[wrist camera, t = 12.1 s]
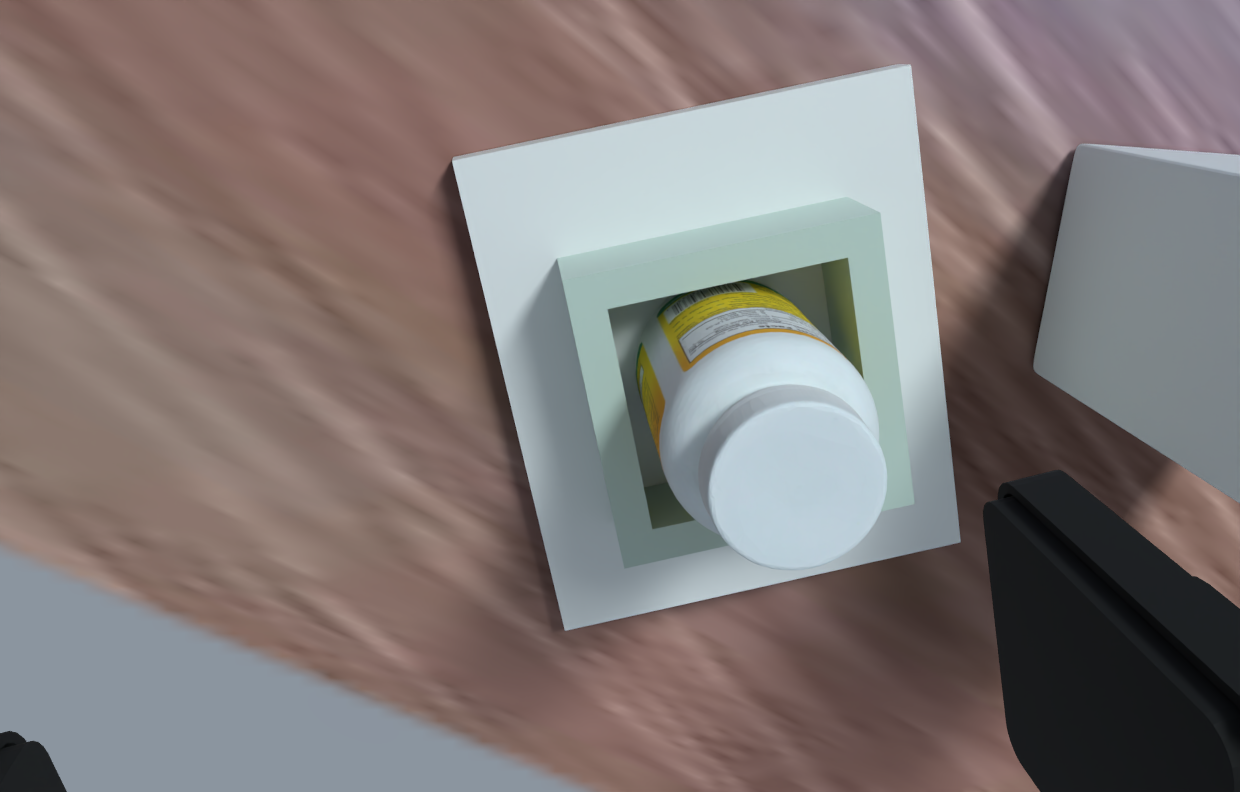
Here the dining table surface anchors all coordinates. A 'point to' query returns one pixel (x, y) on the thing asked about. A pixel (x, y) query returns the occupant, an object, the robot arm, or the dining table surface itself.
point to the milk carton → (1151, 301)
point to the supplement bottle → (761, 425)
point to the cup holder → (696, 259)
